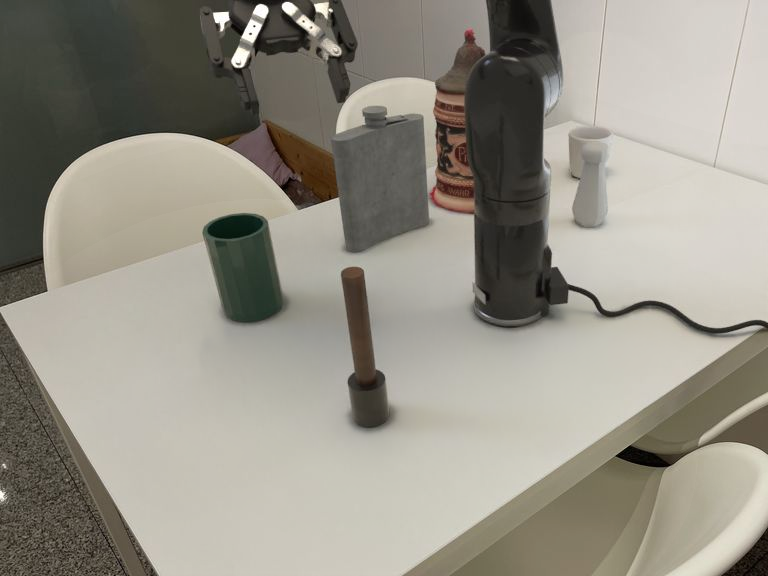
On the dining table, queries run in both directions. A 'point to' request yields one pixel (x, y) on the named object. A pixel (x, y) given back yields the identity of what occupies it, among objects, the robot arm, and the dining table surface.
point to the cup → (579, 139)
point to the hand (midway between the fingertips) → (300, 104)
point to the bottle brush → (363, 355)
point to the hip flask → (381, 177)
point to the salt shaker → (592, 186)
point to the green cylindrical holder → (244, 266)
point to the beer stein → (454, 132)
